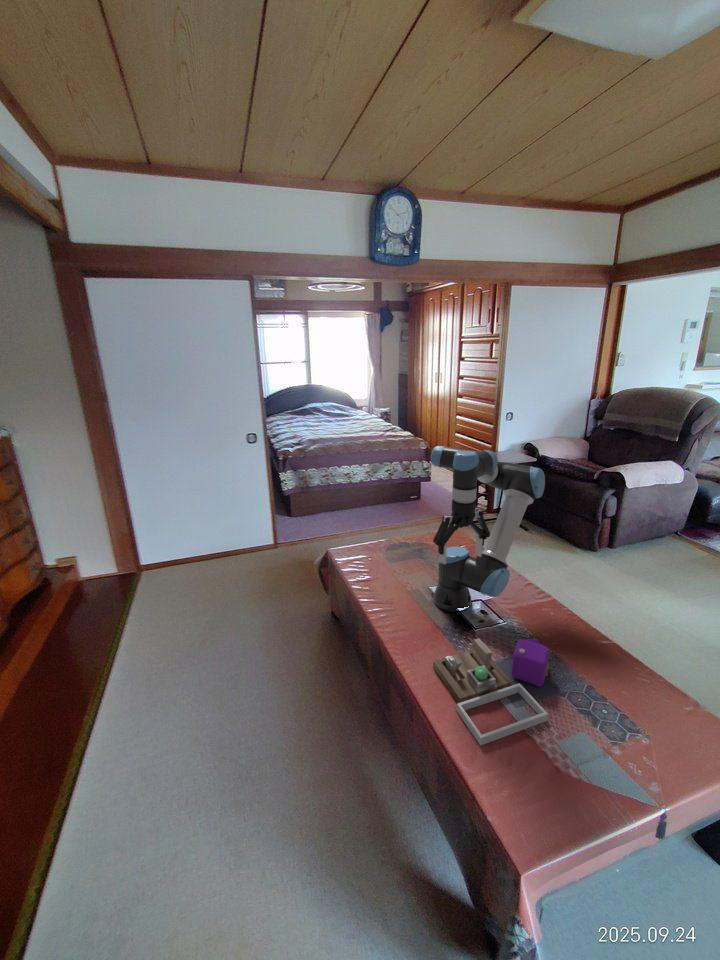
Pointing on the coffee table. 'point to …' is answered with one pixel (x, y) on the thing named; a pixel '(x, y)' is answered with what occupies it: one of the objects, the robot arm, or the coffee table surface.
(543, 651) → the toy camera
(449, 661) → the lighter
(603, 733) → the coffee table surface
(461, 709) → the rectangular frame
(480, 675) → the button
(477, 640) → the station
